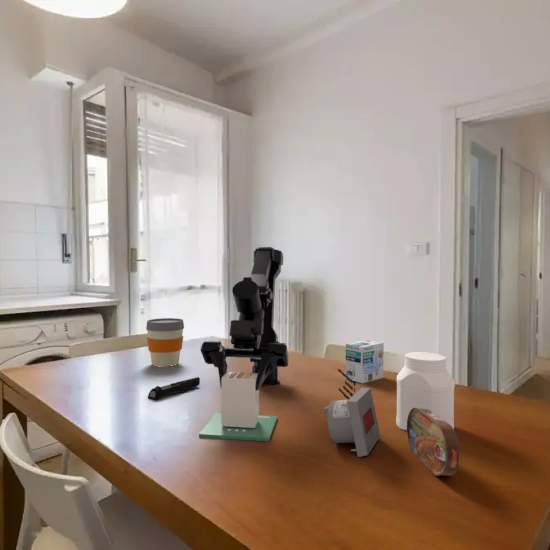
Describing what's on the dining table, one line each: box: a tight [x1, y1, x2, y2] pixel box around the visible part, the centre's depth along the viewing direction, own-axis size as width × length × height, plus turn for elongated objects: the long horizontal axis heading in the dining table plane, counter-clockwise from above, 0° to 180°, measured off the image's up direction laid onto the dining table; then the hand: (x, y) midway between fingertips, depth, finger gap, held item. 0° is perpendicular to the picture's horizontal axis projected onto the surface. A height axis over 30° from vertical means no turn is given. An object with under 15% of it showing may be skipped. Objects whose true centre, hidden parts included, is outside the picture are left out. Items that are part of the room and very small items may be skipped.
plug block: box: [220, 371, 260, 428], centre depth 87 cm, size 4×7×10 cm, turn 82°
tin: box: [406, 408, 461, 477], centre depth 72 cm, size 15×3×8 cm, turn 5°
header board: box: [198, 412, 278, 442], centre depth 87 cm, size 12×14×4 cm
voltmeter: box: [322, 368, 381, 458], centre depth 86 cm, size 27×11×10 cm, turn 8°
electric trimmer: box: [147, 376, 201, 401], centre depth 111 cm, size 4×16×3 cm, turn 140°
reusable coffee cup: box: [145, 317, 185, 367], centre depth 142 cm, size 13×13×15 cm
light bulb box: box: [345, 339, 385, 384], centre depth 125 cm, size 11×7×11 cm, turn 131°
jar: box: [395, 351, 456, 431], centre depth 88 cm, size 12×10×15 cm
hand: (239, 388), depth 86 cm, fingers closed on plug block, 7 cm apart
